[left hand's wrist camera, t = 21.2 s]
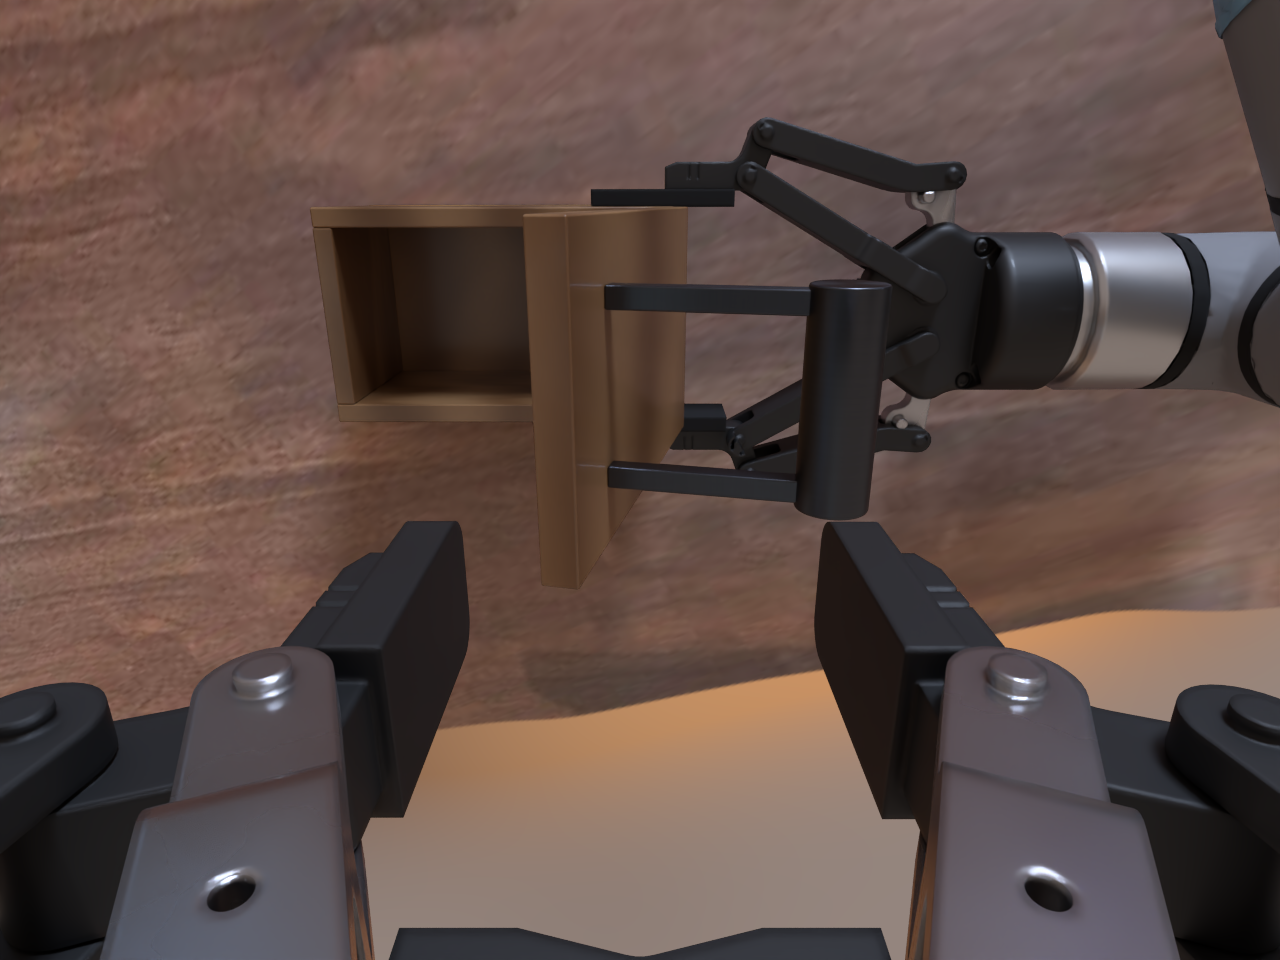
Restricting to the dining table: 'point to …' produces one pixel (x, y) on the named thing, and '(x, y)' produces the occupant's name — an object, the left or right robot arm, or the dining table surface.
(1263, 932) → the left robot arm
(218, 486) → the dining table surface
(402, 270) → the chest
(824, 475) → the lid
